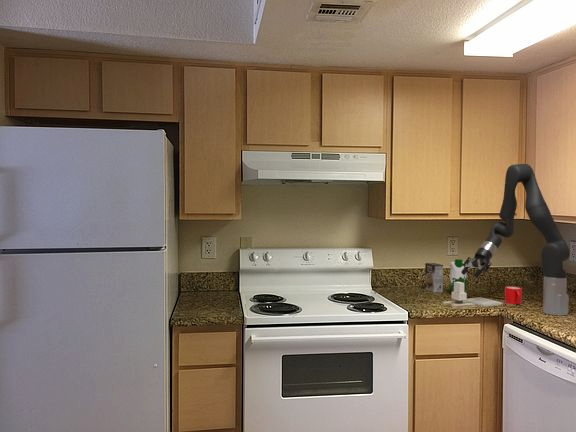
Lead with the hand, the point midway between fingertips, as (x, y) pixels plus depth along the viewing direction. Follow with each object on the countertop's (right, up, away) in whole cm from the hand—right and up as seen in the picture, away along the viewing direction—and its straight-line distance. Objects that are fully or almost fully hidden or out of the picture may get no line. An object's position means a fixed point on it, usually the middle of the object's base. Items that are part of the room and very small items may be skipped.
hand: (469, 275), depth 221 cm
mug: (+25, -15, +2) cm, 29 cm away
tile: (+9, -15, +4) cm, 18 cm away
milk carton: (+5, -15, +26) cm, 30 cm away
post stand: (-6, -15, -2) cm, 16 cm away
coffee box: (-6, -14, +36) cm, 39 cm away
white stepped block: (-6, -12, -3) cm, 14 cm away
